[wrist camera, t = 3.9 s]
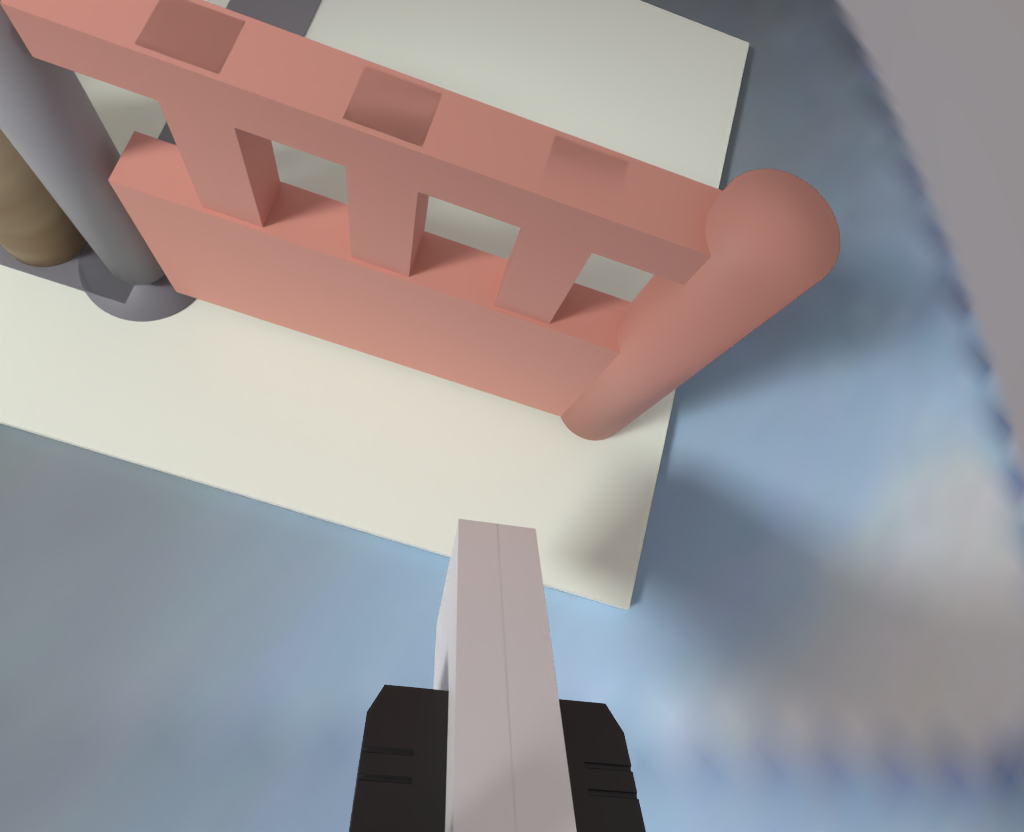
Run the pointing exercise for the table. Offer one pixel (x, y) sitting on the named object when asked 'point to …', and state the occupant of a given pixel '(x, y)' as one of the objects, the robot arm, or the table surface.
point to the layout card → (362, 377)
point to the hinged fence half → (397, 209)
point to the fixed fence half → (32, 215)
